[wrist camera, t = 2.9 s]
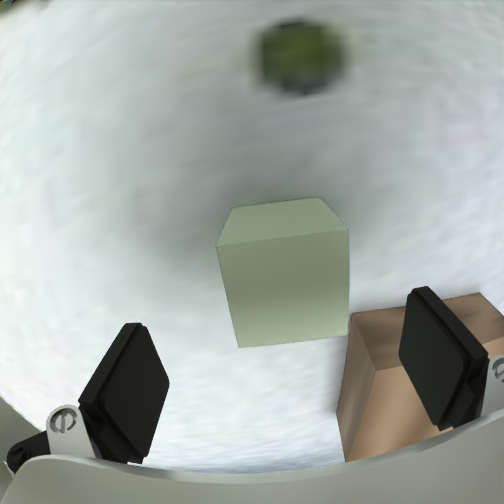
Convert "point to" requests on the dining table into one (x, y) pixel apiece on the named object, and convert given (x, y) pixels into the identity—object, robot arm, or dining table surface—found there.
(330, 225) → the sage block
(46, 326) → the dining table surface
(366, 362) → the walnut box
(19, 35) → the dining table surface
